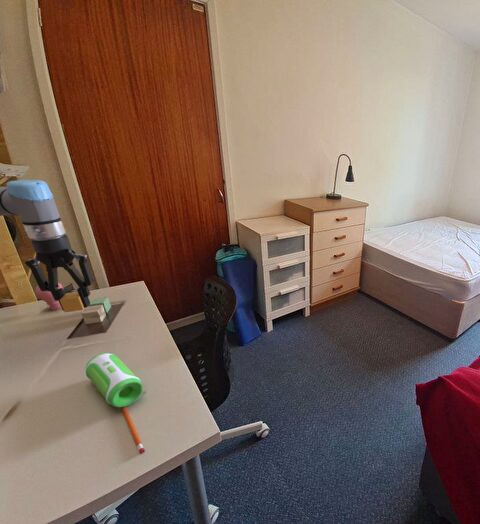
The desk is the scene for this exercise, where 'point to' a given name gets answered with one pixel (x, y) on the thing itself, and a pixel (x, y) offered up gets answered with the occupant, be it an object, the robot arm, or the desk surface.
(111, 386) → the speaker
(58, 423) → the desk surface
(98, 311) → the beige cube
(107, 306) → the green cube
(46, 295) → the light bulb
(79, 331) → the board
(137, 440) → the pencil
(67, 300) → the orange cube
